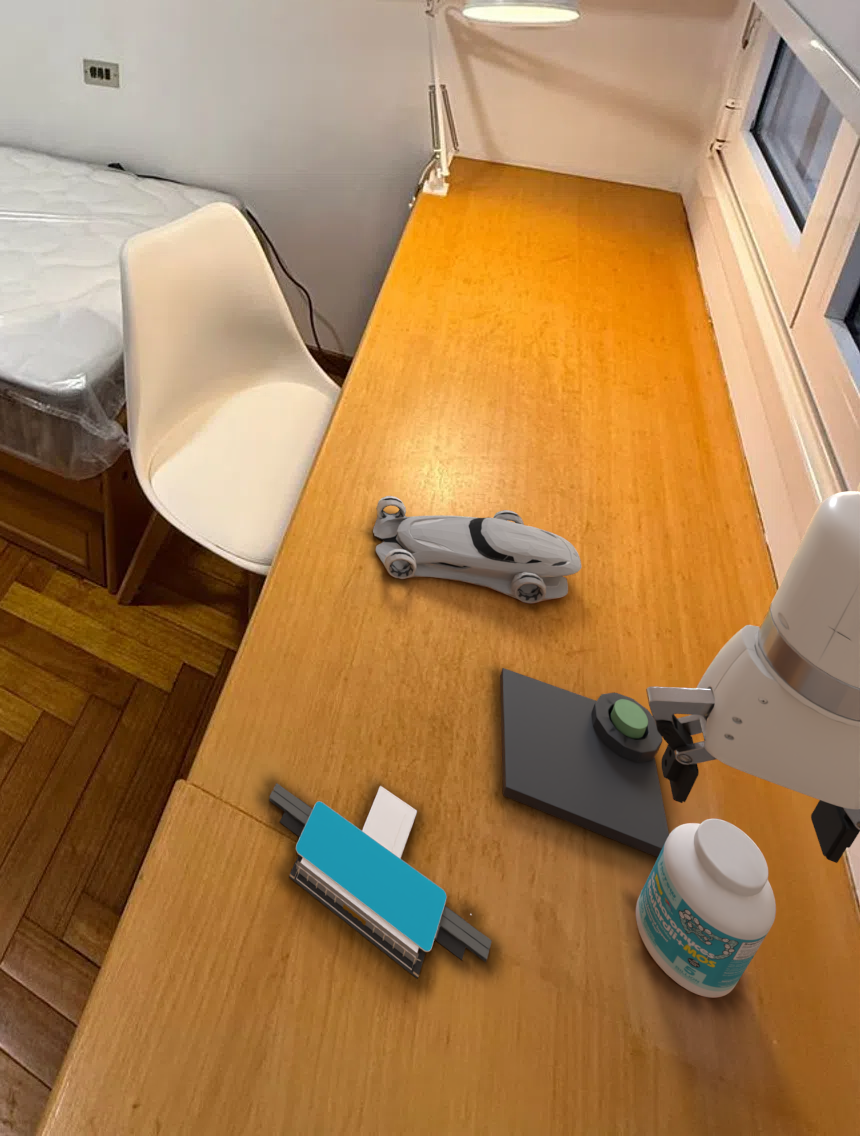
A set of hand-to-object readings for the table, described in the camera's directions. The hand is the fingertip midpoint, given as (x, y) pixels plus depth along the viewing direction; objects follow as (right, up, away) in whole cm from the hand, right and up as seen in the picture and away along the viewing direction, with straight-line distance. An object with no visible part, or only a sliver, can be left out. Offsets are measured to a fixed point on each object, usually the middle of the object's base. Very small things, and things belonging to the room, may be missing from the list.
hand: (746, 810), depth 64 cm
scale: (-2, -12, +21) cm, 24 cm away
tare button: (+4, -8, +21) cm, 23 cm away
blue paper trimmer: (-25, -15, +12) cm, 31 cm away
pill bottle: (0, -17, +7) cm, 19 cm away
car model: (-3, -2, +43) cm, 43 cm away
